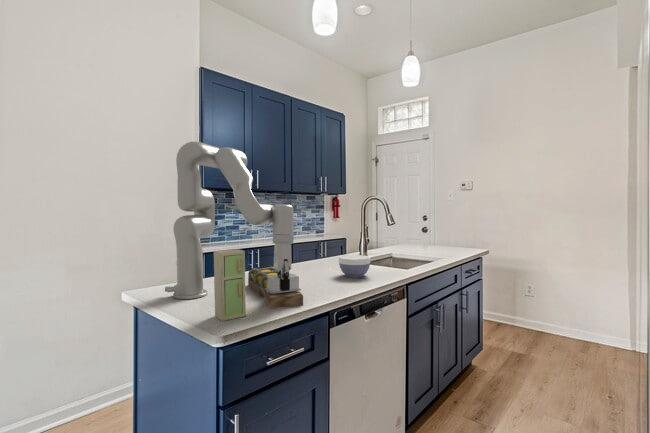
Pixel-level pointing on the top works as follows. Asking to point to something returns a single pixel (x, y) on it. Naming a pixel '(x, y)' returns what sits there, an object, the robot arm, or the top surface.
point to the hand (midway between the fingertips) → (283, 287)
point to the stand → (284, 299)
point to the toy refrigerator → (229, 284)
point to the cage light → (260, 279)
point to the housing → (275, 284)
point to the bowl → (354, 265)
